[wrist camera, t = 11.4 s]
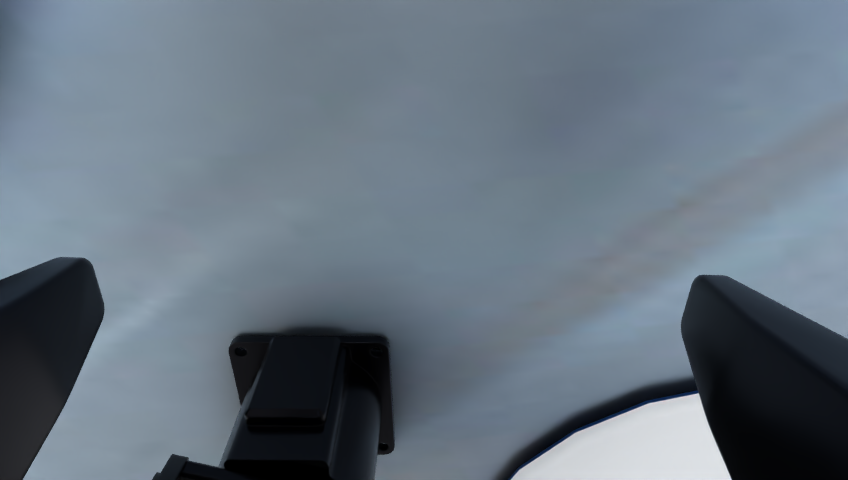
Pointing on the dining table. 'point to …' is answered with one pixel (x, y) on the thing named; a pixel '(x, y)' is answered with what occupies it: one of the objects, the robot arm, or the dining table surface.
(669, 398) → the plate
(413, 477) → the dining table surface
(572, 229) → the dining table surface
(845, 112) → the dining table surface
